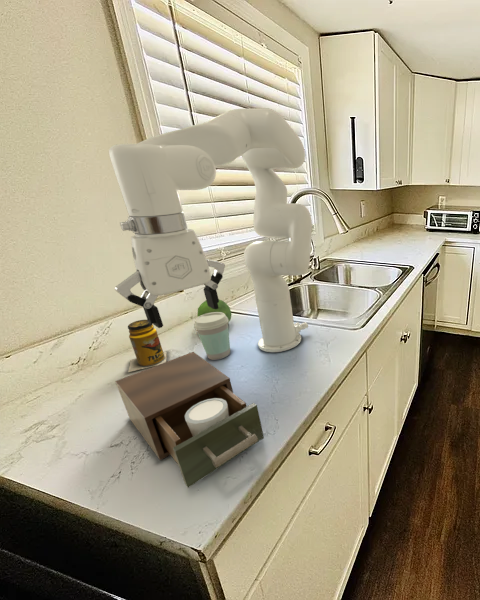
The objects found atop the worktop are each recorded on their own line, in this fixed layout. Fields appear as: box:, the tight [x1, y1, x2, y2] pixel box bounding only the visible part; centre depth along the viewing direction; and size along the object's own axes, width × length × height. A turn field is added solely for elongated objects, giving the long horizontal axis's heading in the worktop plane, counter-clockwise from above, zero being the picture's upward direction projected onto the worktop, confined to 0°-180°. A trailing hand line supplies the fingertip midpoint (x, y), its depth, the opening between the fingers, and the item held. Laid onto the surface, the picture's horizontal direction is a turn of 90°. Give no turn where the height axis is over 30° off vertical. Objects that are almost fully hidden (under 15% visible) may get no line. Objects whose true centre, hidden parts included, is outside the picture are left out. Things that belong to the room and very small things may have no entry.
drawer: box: [152, 385, 265, 488], centre depth 60 cm, size 22×14×8 cm, turn 52°
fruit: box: [197, 299, 233, 323], centre depth 112 cm, size 15×10×10 cm, turn 32°
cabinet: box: [114, 351, 234, 461], centre depth 68 cm, size 18×15×10 cm
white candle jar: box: [185, 398, 229, 436], centre depth 60 cm, size 7×7×7 cm
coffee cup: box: [193, 312, 231, 361], centre depth 93 cm, size 8×8×12 cm
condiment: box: [127, 319, 167, 373], centre depth 89 cm, size 7×8×12 cm
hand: (187, 316), depth 62 cm, fingers open, 9 cm apart
